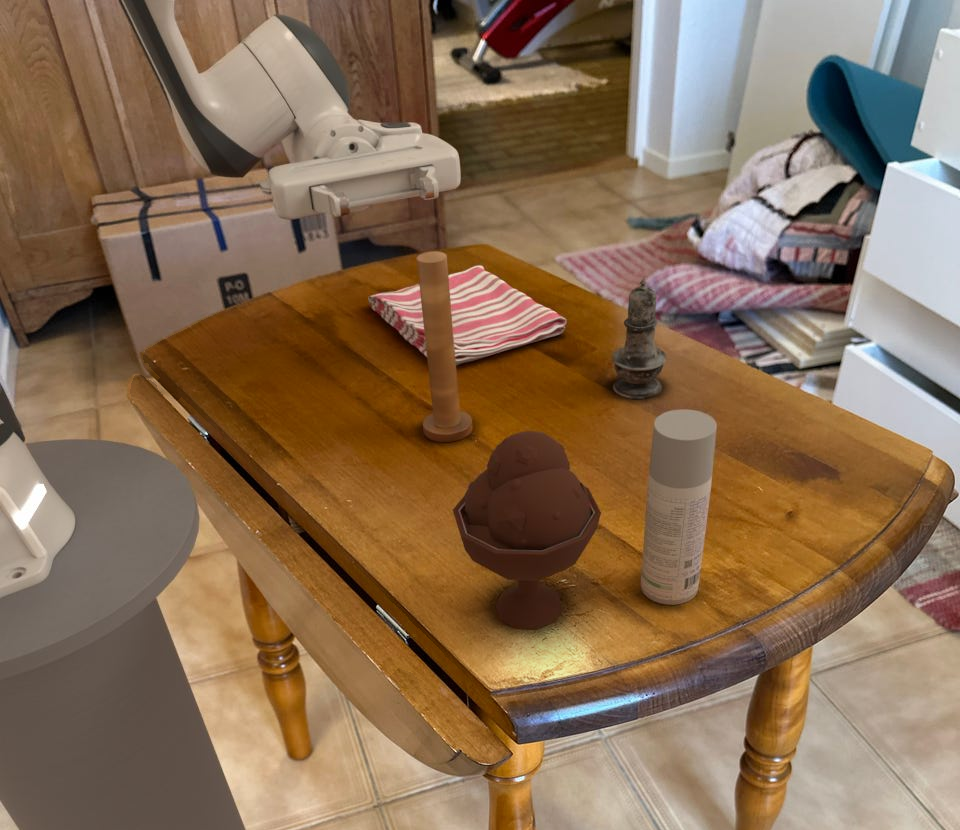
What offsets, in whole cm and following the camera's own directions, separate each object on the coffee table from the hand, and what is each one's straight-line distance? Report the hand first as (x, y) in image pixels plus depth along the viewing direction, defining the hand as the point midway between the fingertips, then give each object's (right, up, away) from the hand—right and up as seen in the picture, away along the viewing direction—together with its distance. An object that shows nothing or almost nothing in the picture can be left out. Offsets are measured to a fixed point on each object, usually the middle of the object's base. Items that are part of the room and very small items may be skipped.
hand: (387, 199), depth 92 cm
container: (+25, -40, -16) cm, 49 cm away
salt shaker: (+27, -16, +10) cm, 33 cm away
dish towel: (+7, -4, +26) cm, 27 cm away
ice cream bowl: (+13, -41, -17) cm, 47 cm away
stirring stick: (+6, -22, +6) cm, 23 cm away
